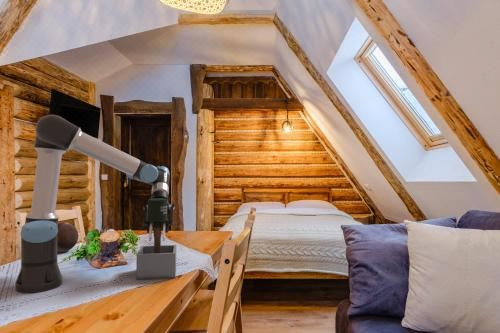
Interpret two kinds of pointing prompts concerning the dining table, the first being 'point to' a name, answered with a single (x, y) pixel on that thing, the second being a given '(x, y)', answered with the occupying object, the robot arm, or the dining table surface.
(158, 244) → the stick grenade
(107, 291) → the dining table surface
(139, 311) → the dining table surface
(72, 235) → the wooden sphere
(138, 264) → the bin
